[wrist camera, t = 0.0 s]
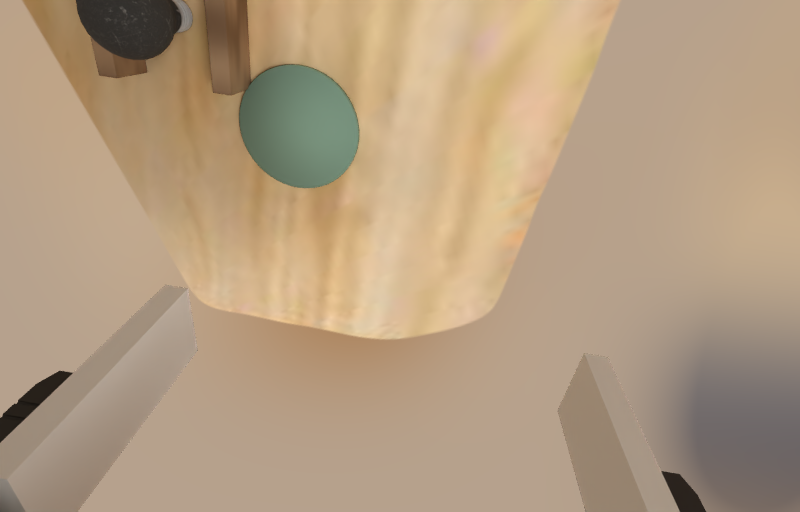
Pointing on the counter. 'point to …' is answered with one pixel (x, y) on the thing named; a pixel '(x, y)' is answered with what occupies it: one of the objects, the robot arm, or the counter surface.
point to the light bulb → (134, 25)
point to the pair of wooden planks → (224, 49)
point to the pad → (299, 126)
